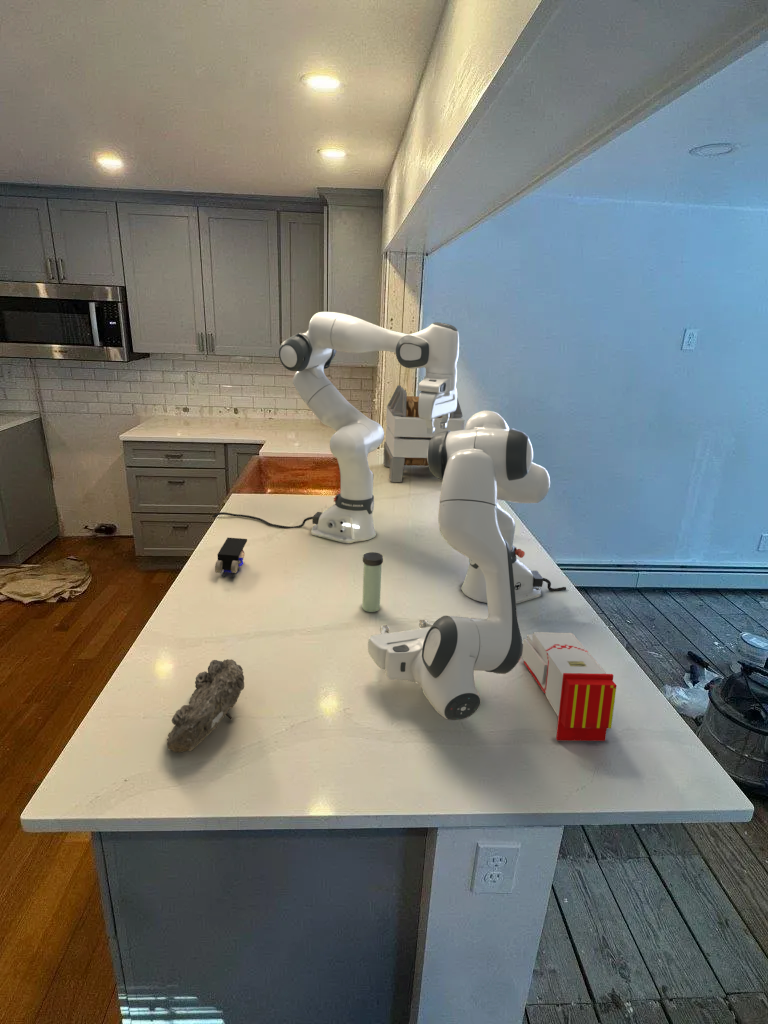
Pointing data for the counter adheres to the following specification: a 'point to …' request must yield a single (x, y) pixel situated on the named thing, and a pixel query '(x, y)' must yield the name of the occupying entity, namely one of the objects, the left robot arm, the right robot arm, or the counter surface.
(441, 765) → the counter surface
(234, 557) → the figurine character
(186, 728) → the fossil
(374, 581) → the jar
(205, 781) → the counter surface
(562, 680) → the toy
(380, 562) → the lid
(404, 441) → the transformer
